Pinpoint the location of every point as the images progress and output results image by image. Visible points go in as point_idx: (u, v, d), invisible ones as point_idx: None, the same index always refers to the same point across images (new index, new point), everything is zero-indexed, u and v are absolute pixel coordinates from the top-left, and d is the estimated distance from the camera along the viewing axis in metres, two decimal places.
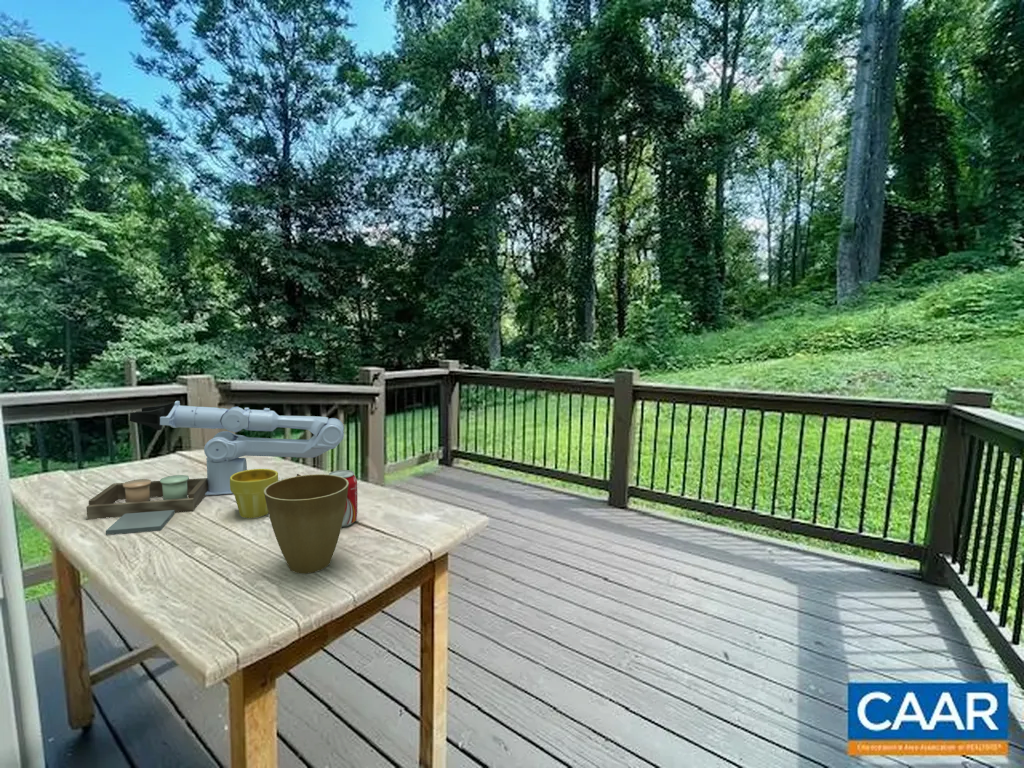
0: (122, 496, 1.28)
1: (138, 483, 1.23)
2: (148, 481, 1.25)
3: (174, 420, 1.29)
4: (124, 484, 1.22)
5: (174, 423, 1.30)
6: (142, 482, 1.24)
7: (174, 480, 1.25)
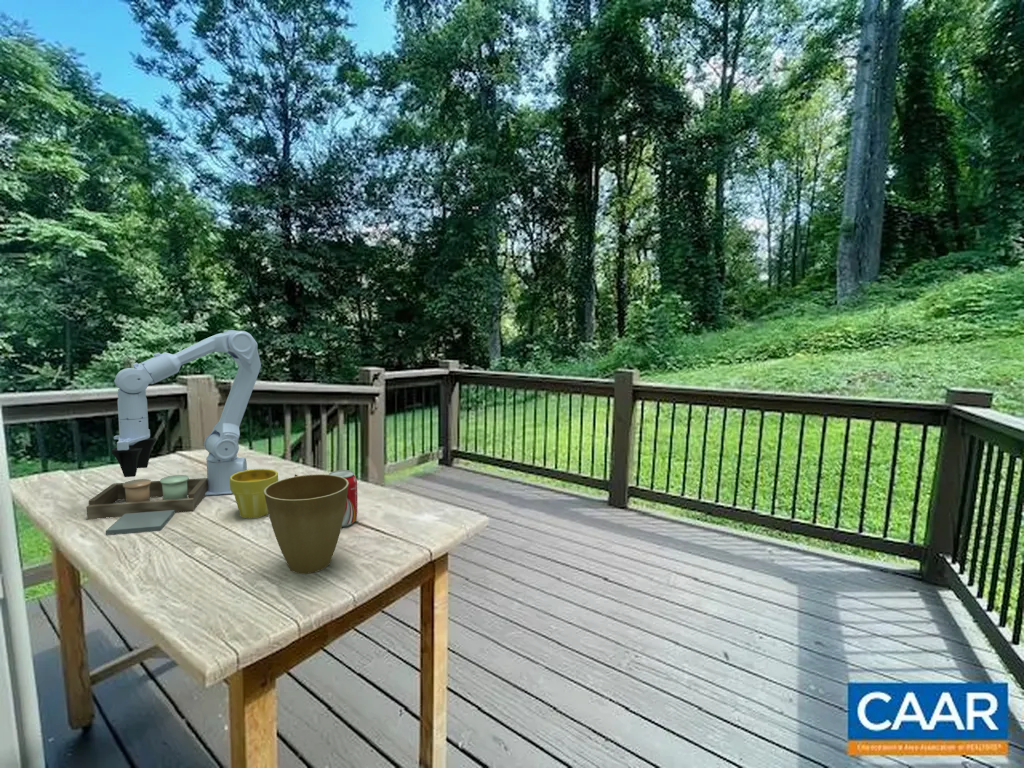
0: (122, 496, 1.28)
1: (138, 483, 1.23)
2: (148, 481, 1.25)
3: (132, 437, 1.20)
4: (124, 484, 1.22)
5: (137, 437, 1.21)
6: (142, 482, 1.24)
7: (174, 480, 1.25)
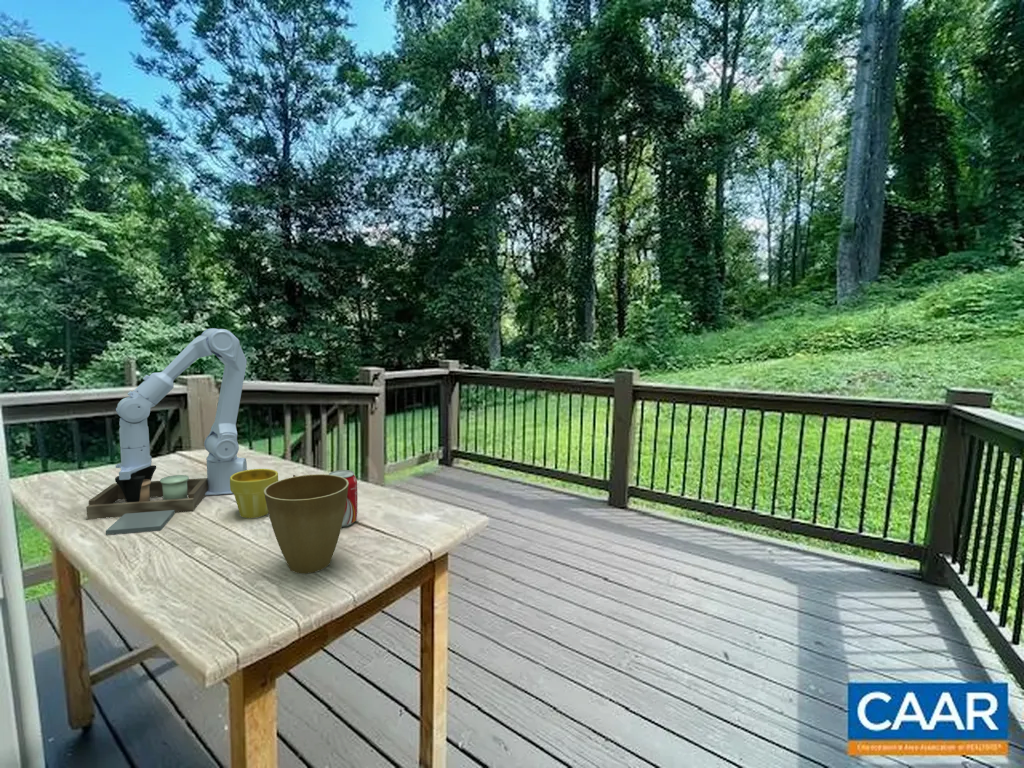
0: (122, 496, 1.28)
1: None
2: (148, 481, 1.25)
3: (134, 466, 1.21)
4: None
5: (138, 465, 1.21)
6: (143, 482, 1.24)
7: (174, 480, 1.25)
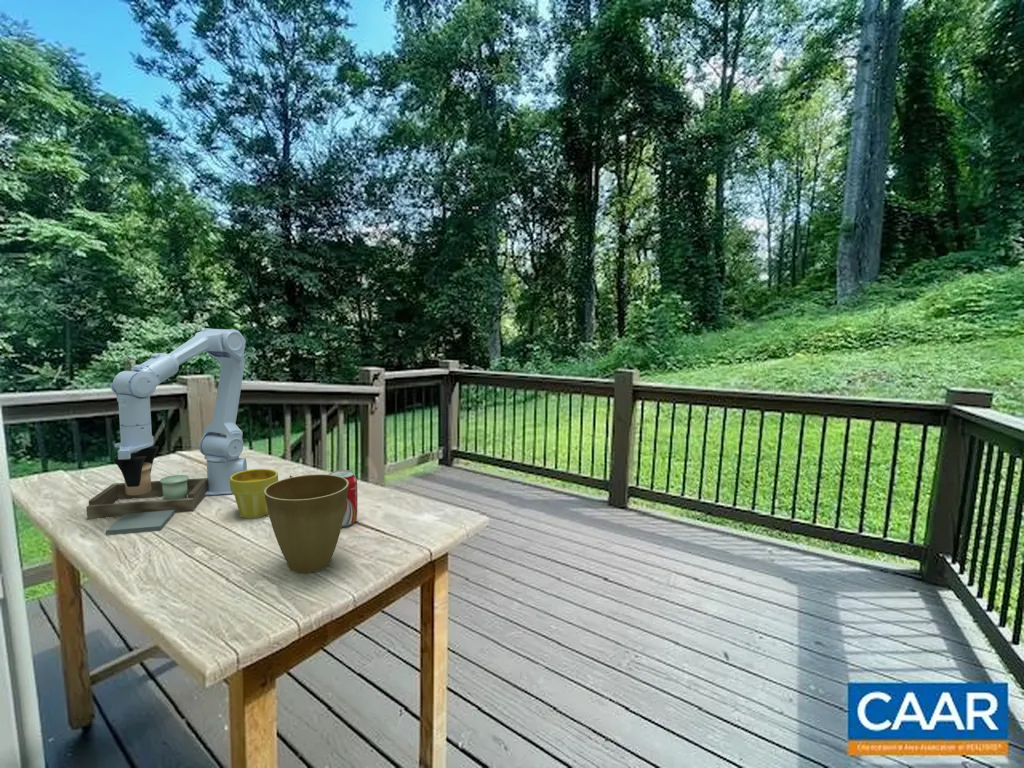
0: (122, 496, 1.28)
1: None
2: (149, 465, 1.16)
3: (134, 445, 1.12)
4: None
5: (139, 445, 1.12)
6: (143, 466, 1.15)
7: (174, 480, 1.25)
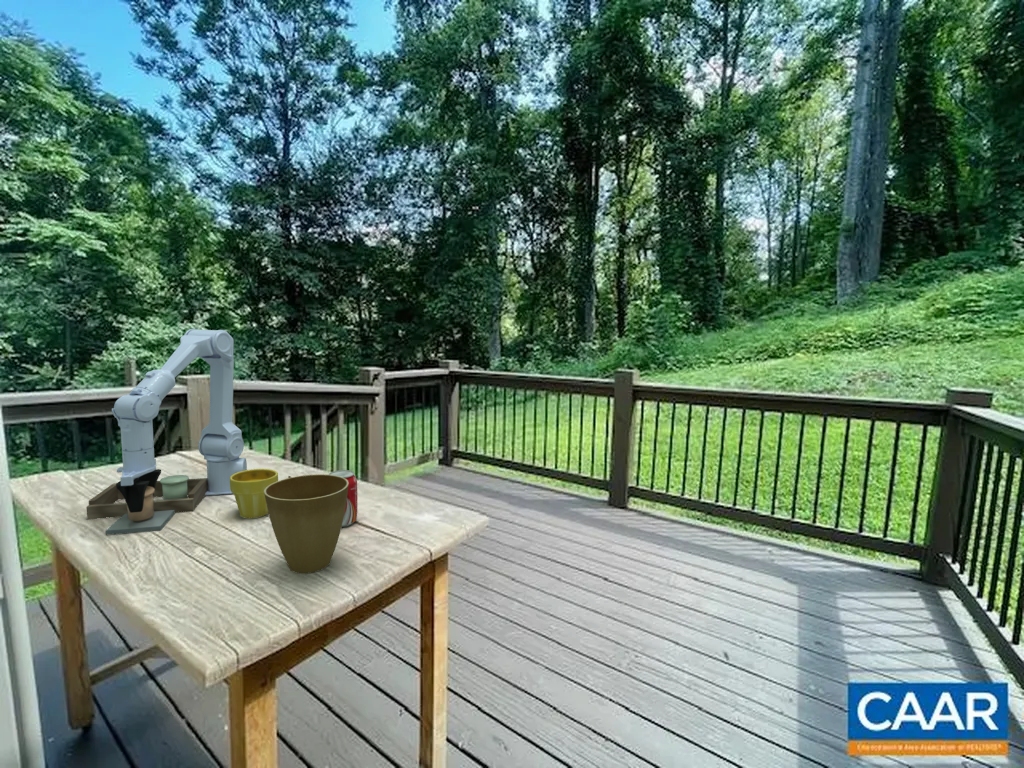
0: (122, 496, 1.28)
1: None
2: (151, 490, 1.14)
3: (137, 470, 1.10)
4: None
5: (142, 470, 1.10)
6: (145, 491, 1.13)
7: (174, 480, 1.25)
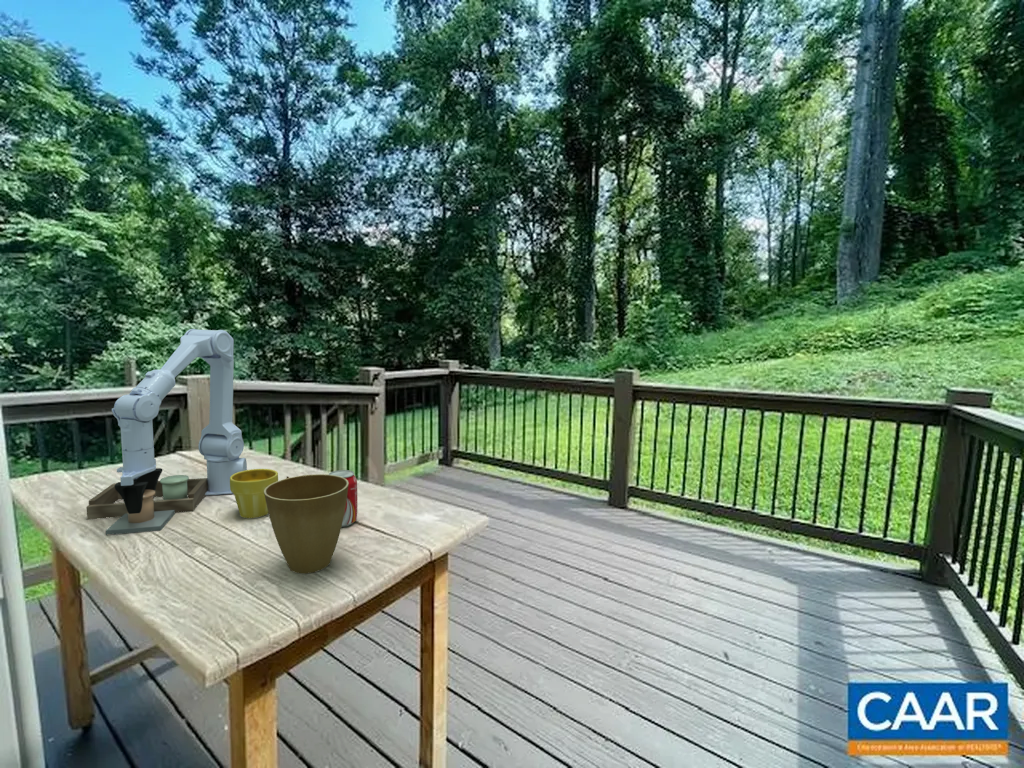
0: None
1: None
2: (152, 492, 1.14)
3: (137, 470, 1.10)
4: None
5: (142, 470, 1.10)
6: (146, 493, 1.14)
7: (174, 480, 1.25)
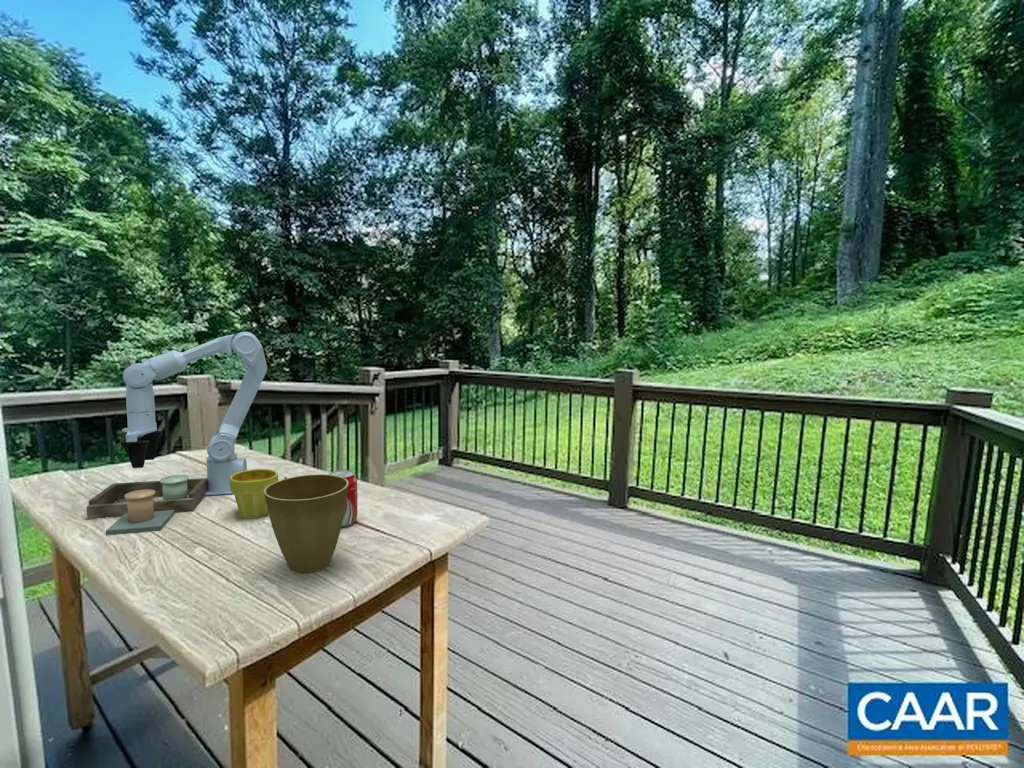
0: (122, 496, 1.28)
1: (141, 494, 1.13)
2: (152, 492, 1.15)
3: (140, 430, 1.25)
4: (126, 495, 1.12)
5: (144, 430, 1.25)
6: (146, 493, 1.14)
7: (174, 480, 1.25)
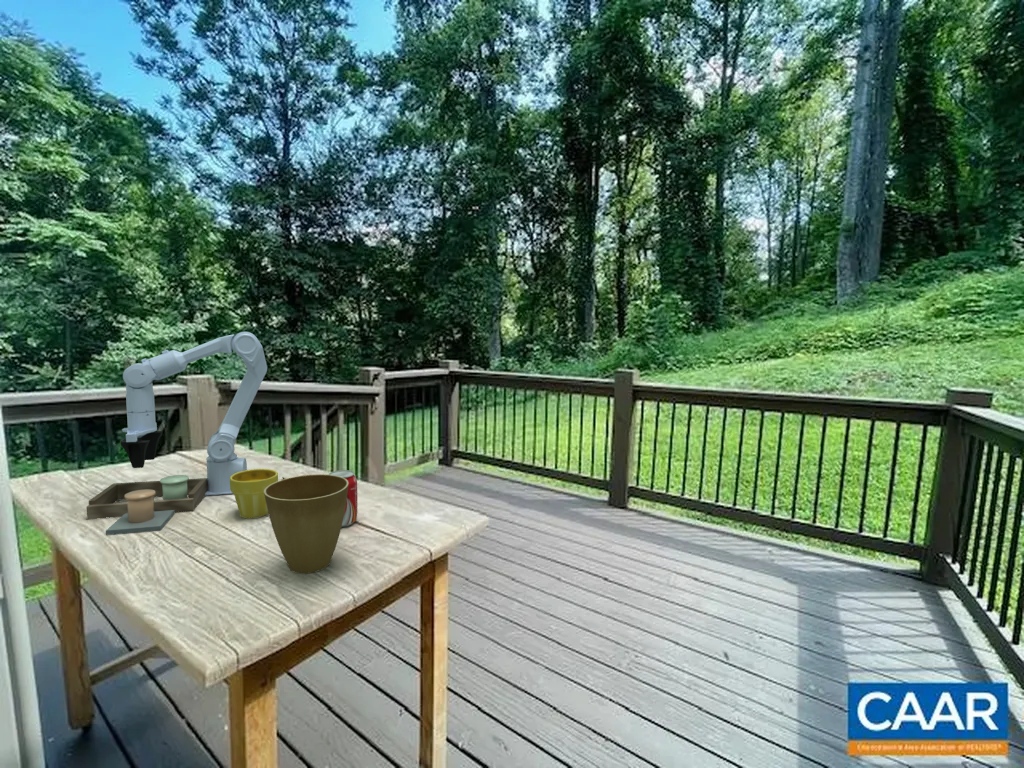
0: (122, 496, 1.28)
1: (141, 494, 1.13)
2: (152, 492, 1.15)
3: (140, 430, 1.25)
4: (126, 495, 1.12)
5: (144, 430, 1.25)
6: (146, 493, 1.14)
7: (174, 480, 1.25)
